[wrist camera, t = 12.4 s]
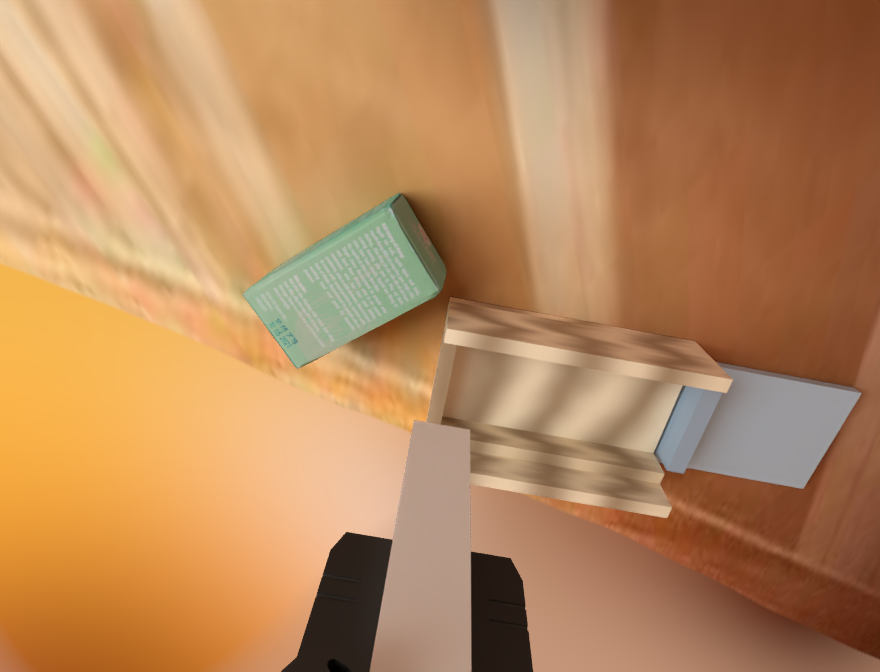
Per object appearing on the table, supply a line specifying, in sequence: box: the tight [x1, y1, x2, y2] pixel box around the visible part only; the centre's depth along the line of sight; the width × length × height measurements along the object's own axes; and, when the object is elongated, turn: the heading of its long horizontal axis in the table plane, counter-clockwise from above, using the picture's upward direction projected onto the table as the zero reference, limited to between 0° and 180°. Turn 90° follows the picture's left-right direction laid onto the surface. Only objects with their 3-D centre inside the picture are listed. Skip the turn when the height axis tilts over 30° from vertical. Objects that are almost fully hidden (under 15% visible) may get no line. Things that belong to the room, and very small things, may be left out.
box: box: [243, 193, 446, 369], centre depth 40 cm, size 7×14×8 cm, turn 120°
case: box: [426, 297, 733, 518], centre depth 44 cm, size 22×14×7 cm, turn 80°
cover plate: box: [654, 362, 862, 489], centre depth 46 cm, size 15×11×4 cm
